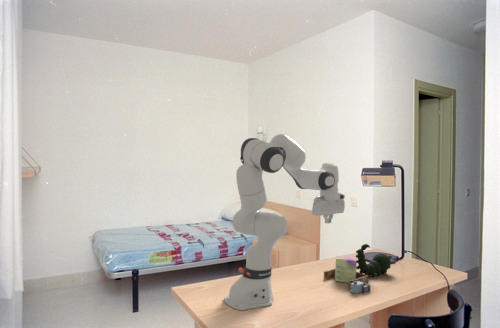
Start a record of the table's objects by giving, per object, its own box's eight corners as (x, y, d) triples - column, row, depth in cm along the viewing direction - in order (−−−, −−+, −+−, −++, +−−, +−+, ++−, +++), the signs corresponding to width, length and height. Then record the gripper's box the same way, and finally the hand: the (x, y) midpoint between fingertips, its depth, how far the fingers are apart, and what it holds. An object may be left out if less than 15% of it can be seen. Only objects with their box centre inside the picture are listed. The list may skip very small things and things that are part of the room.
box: (355, 279, 184) (356, 257, 183) (355, 283, 178) (356, 260, 178) (335, 277, 187) (335, 255, 186) (334, 281, 181) (335, 258, 181)
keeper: (364, 293, 166) (364, 287, 166) (353, 289, 171) (353, 283, 171) (370, 291, 169) (370, 285, 169) (359, 287, 174) (360, 281, 174)
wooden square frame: (350, 289, 170) (350, 281, 170) (323, 278, 184) (324, 271, 184) (368, 283, 179) (368, 275, 179) (341, 273, 193) (342, 266, 192)
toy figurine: (365, 283, 183) (398, 273, 194) (364, 248, 182) (397, 239, 193) (352, 277, 192) (385, 267, 203) (351, 243, 190) (384, 235, 201)
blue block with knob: (355, 293, 165) (356, 283, 165) (350, 291, 167) (350, 281, 167) (363, 291, 168) (363, 280, 168) (358, 289, 171) (358, 278, 171)
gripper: (319, 197, 167) (318, 226, 168) (347, 195, 179) (346, 222, 180) (309, 196, 172) (308, 223, 173) (337, 194, 184) (336, 220, 185)
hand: (328, 223), depth 176 cm, fingers closed
